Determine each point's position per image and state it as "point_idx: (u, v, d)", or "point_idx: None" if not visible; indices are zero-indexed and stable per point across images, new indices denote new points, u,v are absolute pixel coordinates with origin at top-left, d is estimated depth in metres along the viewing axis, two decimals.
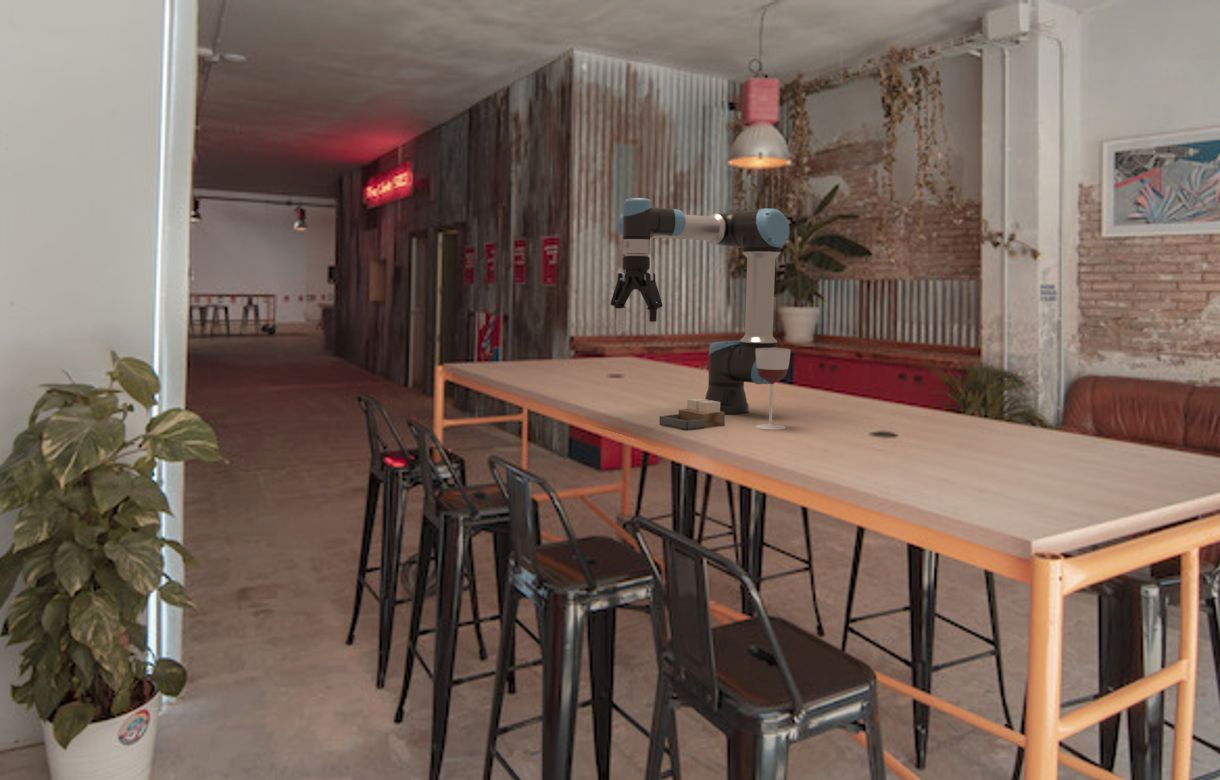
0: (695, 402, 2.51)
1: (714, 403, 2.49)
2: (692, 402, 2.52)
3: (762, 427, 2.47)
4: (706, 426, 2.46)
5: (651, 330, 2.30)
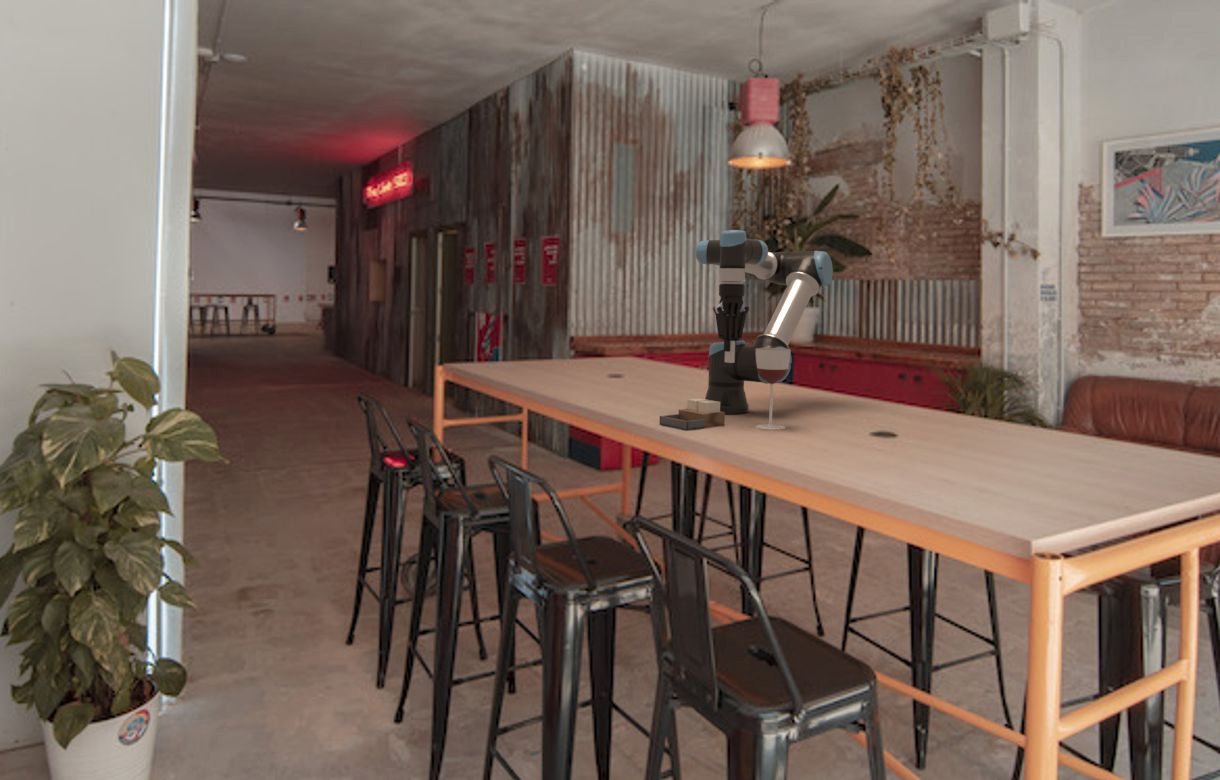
0: (695, 402, 2.51)
1: (714, 403, 2.49)
2: (692, 402, 2.52)
3: (762, 427, 2.47)
4: (706, 426, 2.46)
5: (727, 359, 2.53)
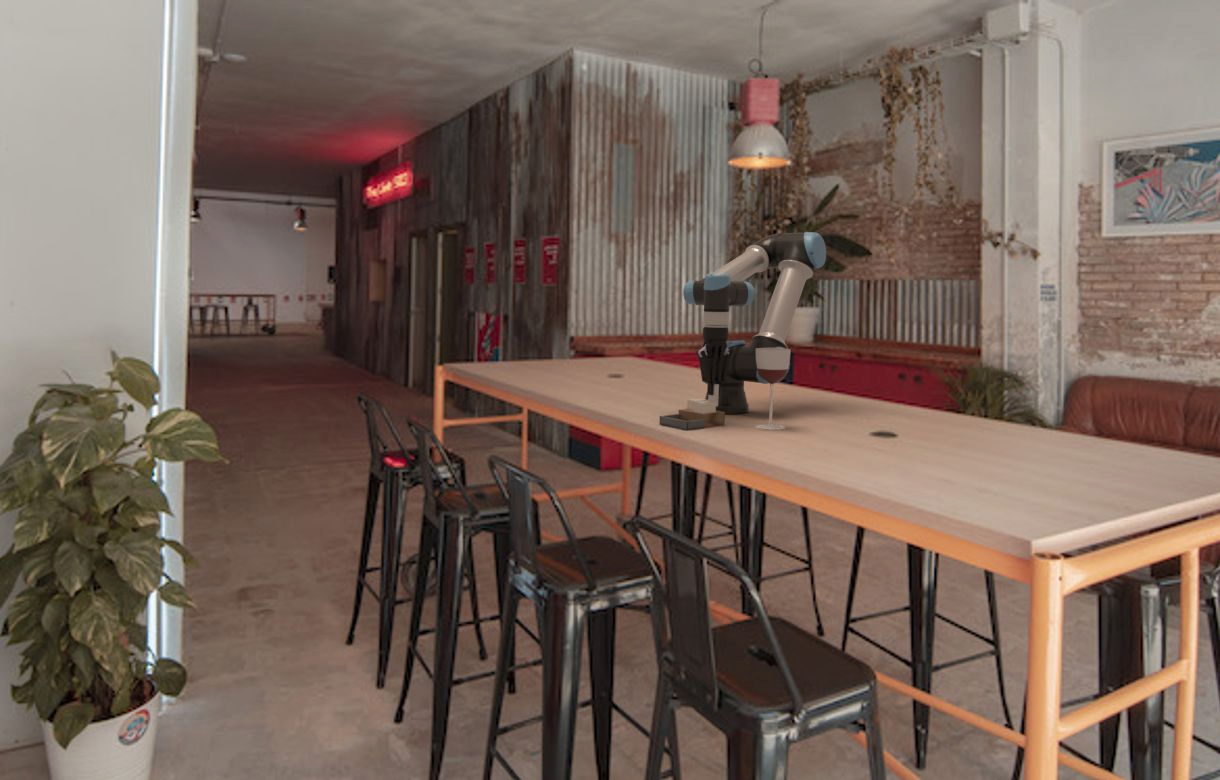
0: None
1: (710, 403, 2.48)
2: (692, 402, 2.52)
3: (762, 427, 2.47)
4: (706, 426, 2.46)
5: None
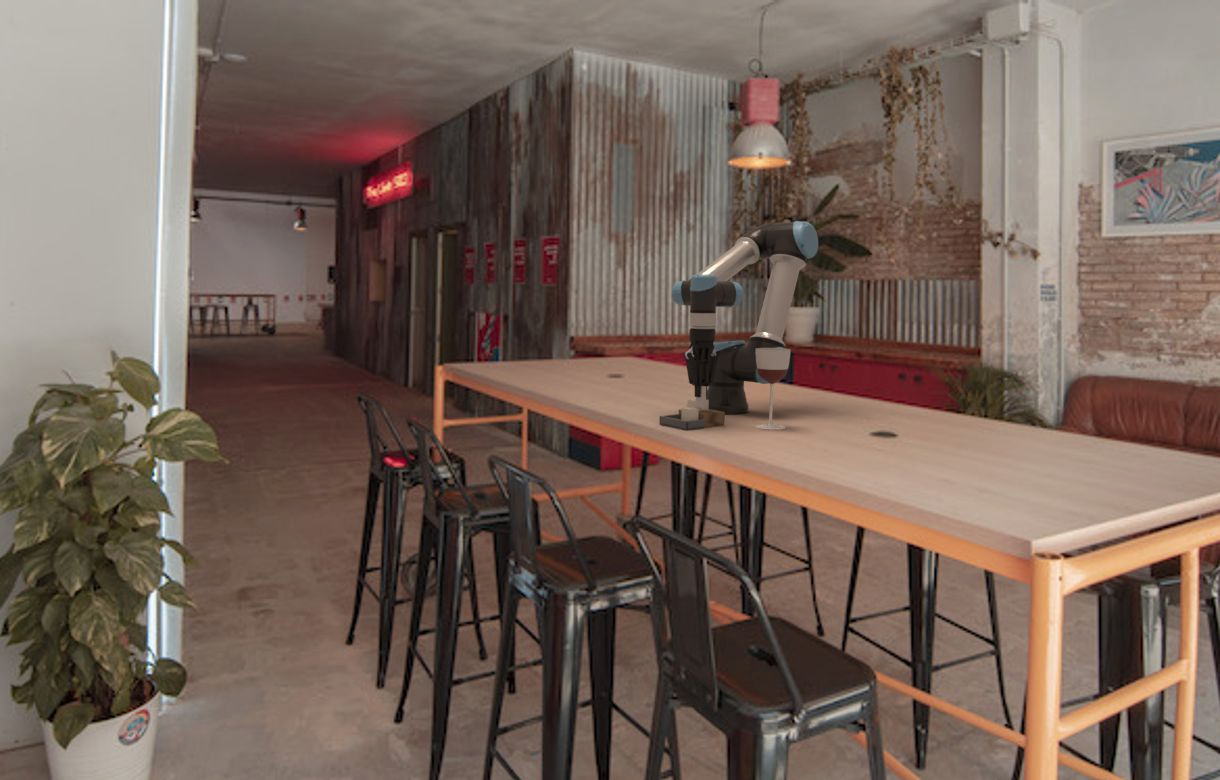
0: (695, 402, 2.51)
1: (691, 417, 2.44)
2: (692, 402, 2.52)
3: (762, 427, 2.47)
4: (706, 426, 2.46)
5: (698, 405, 2.48)
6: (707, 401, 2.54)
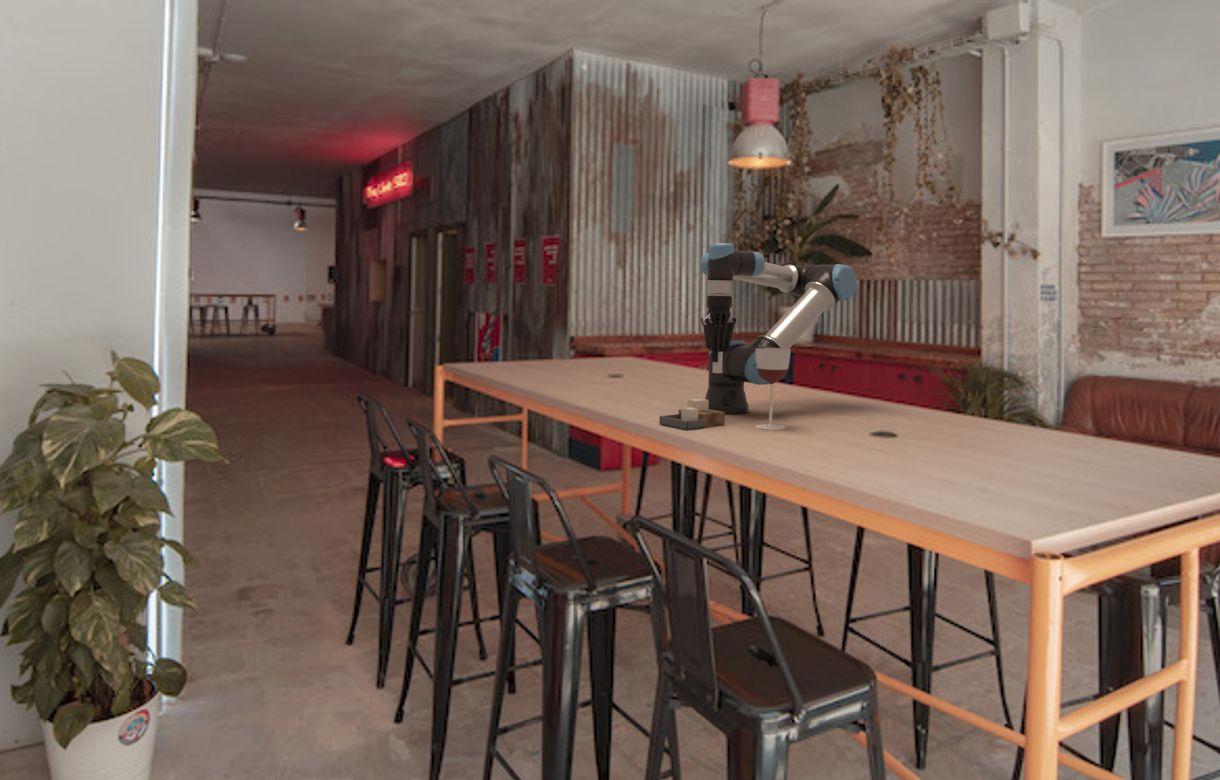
0: (695, 402, 2.51)
1: (691, 417, 2.44)
2: (692, 402, 2.52)
3: (762, 427, 2.47)
4: (706, 426, 2.46)
5: (715, 370, 2.57)
6: (707, 401, 2.54)
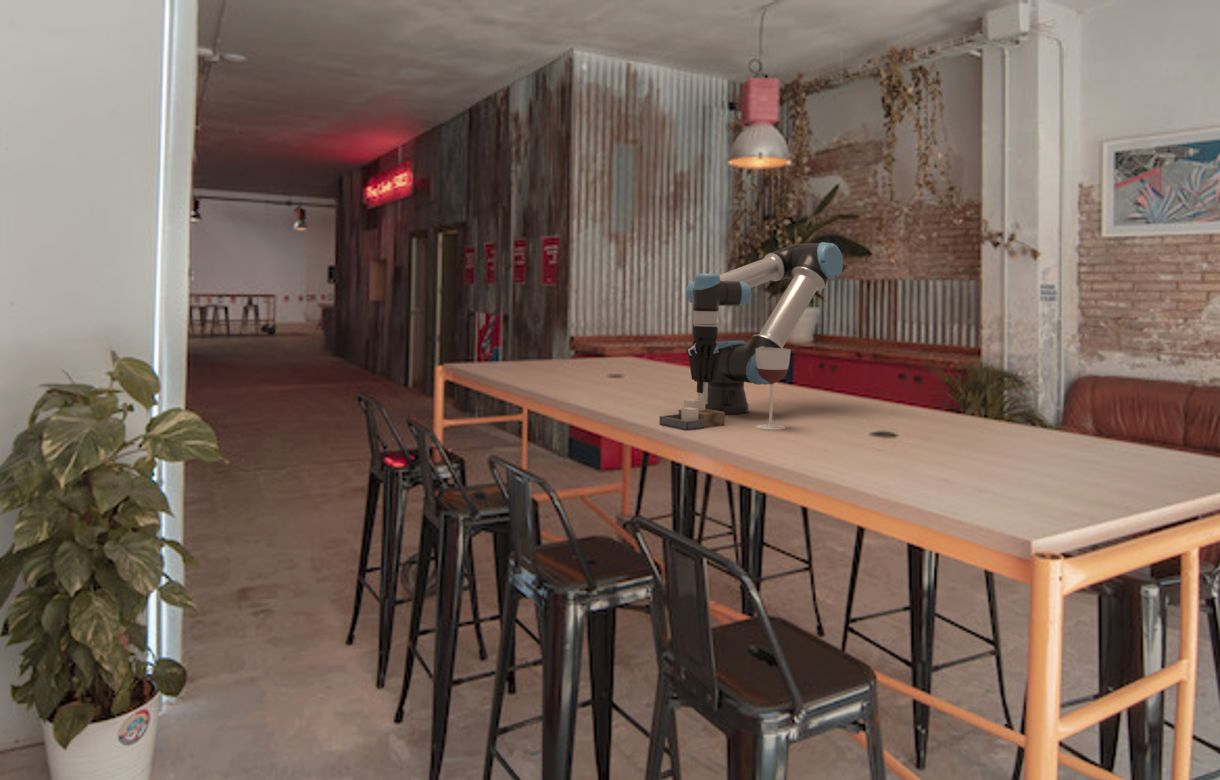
0: (692, 402, 2.51)
1: (691, 417, 2.44)
2: (689, 402, 2.52)
3: (762, 427, 2.47)
4: (706, 426, 2.46)
5: None
6: (704, 401, 2.53)
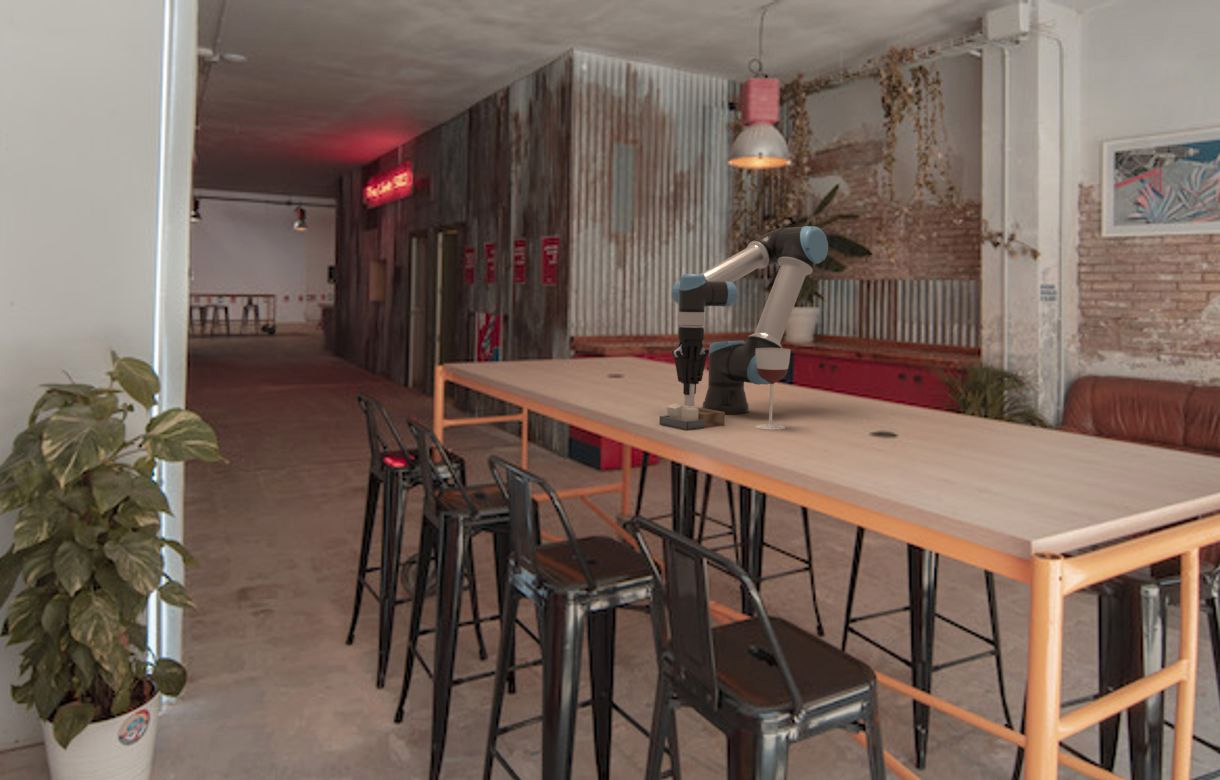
0: None
1: (691, 417, 2.44)
2: None
3: (762, 427, 2.47)
4: (706, 426, 2.46)
5: (687, 402, 2.52)
6: (677, 409, 2.47)
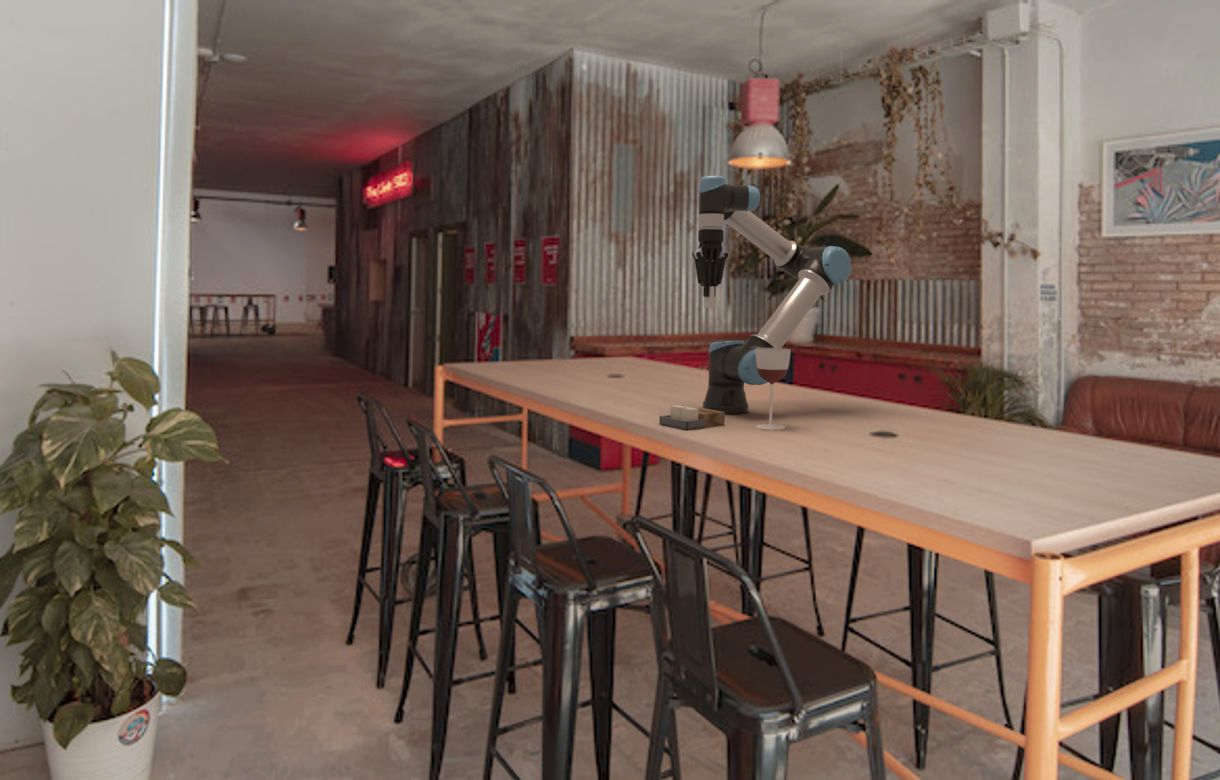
0: None
1: (691, 417, 2.44)
2: None
3: (762, 427, 2.47)
4: (706, 426, 2.46)
5: (707, 305, 2.56)
6: (680, 408, 2.48)
